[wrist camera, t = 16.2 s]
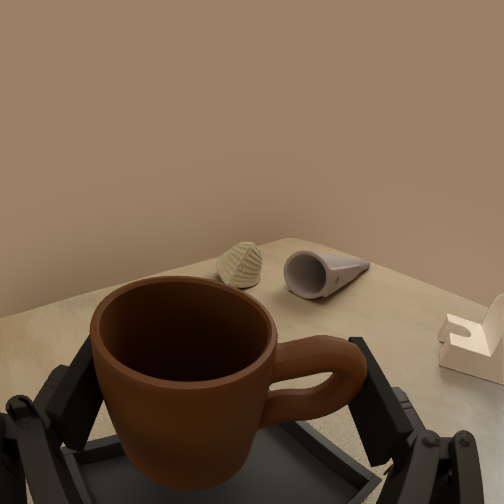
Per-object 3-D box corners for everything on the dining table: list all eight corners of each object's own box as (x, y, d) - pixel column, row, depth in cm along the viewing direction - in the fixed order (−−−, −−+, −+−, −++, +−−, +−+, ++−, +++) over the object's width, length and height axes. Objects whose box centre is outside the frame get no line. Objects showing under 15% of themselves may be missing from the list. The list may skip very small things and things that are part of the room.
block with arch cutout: (439, 365, 31) (472, 295, 27) (438, 332, 39) (463, 271, 35) (526, 391, 23) (562, 328, 19) (515, 357, 31) (543, 301, 27)
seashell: (271, 261, 54) (275, 254, 46) (246, 300, 53) (246, 299, 45) (235, 238, 55) (233, 227, 47) (209, 275, 53) (203, 271, 46)
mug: (313, 408, 18) (358, 294, 14) (327, 501, 11) (417, 402, 7) (142, 386, 17) (129, 263, 14) (108, 475, 10) (48, 357, 7)
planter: (343, 239, 68) (289, 244, 48) (376, 249, 63) (336, 260, 43) (336, 269, 70) (279, 288, 49) (367, 280, 65) (323, 306, 44)
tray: (71, 462, 14) (60, 446, 13) (256, 398, 26) (260, 380, 25) (163, 616, 4) (157, 620, 3) (368, 492, 15) (382, 479, 14)
